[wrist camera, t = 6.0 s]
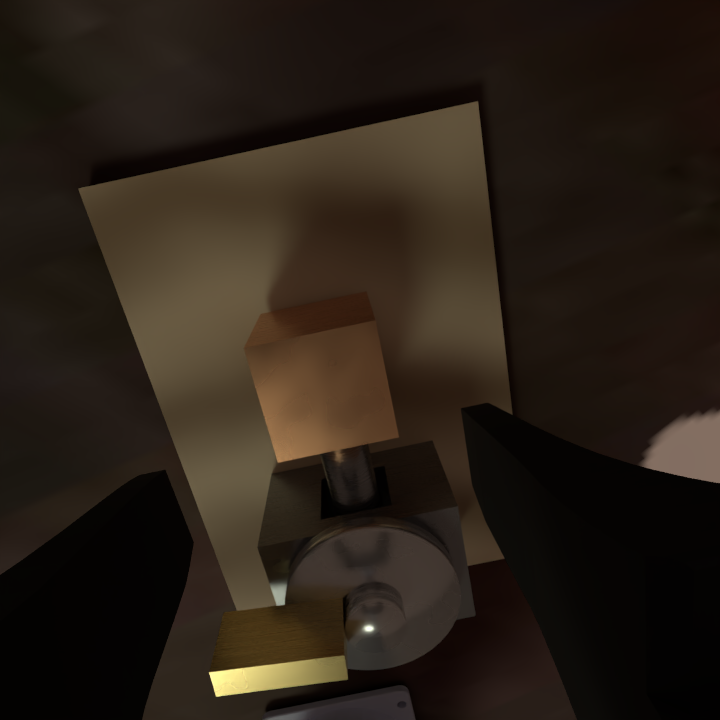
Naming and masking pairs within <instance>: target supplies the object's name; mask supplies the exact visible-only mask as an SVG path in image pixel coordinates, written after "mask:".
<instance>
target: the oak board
mask: <svg viewBox="0 0 720 720" xmlns="http://www.w3.org/2000/svg"><path fill="white" fill-rule="evenodd" d="M79 192H80V195H81V197H82V200H83V203H84V205H85V208H86V211H87V213H88V216H89V219H90V221H91V224H92V227H93V229H94V232H95V235H96V237H97V240H98V243H99V245H100V248H101V251H102V253H103V256H104V259H105V261H106V264H107V267H108V269H109V272H110V274H111V277H112V280H113V282H114V285H115V288H116V290H117V293H118V296H119V298H120V301H121V304H122V306H123V309H124V312H125V314H126V317H127V320H128V322H129V325H130V328H131V330H132V333H133V336H134V338H135V341H136V344H137V346H138V349H139V352H140V354H141V357H142V360H143V362H144V365H145V367H146V370H147V373H148V375H149V378H150V381H151V383H152V386H153V389H154V391H155V394H156V397H157V399H158V402H159V405H160V407H161V410H162V413H163V415H164V418H165V421H166V423H167V426H168V429H169V431H170V434H171V437H172V439H173V442H174V445H175V447H176V450H177V453H178V455H179V458H180V461H181V463H182V466H183V468H184V471H185V474H186V476H187V479H188V482H189V484H190V487H191V490H192V492H193V495H194V498H195V500H196V503H197V506H198V508H199V511H200V514H201V516H202V519H203V522H204V524H205V527H206V530H207V532H208V535H209V538H210V540H211V543H212V546H213V548H214V551H215V554H216V556H217V559H218V561H219V564H220V567H221V569H222V572H223V575H224V577H225V580H226V583H227V585H228V588H229V591H230V593H231V596H232V599H233V601H234V604H235V607H236V609H237V611H240V610H248V609H255V608H263V607H269V606H274V605H277V604H276V601H275V598H274V595H273V593H272V590H271V587H270V584H269V581H268V578H267V575H266V572H265V569H264V566H263V563H262V560H261V557H260V554H259V551H258V548H257V546H258V541H259V536H260V531H261V525H262V520H263V515H264V510H265V505H266V500H267V495H268V489H269V484H270V479H271V474H273V473H278V472H283V471H287V470H292V469H297V468H302V467H307V466H311V465H316V464H321V463H322V460H321V456H320V454H317V455H312V456H307V457H303V458H298V459H293V460H288V461H283V462H279V463H278V461H277V458H276V454H275V451H274V448H273V444H272V441H271V438H270V434H269V431H268V428H267V424H266V421H265V418H264V414H263V411H262V408H261V404H260V401H259V398H258V394H257V391H256V388H255V384H254V381H253V378H252V374H251V371H250V368H249V364H248V361H247V358H246V354H245V351H244V346H245V344H246V342H247V340H248V338H249V336H250V334H251V332H252V330H253V328H254V326H255V324H256V322H257V320H258V318H259V316H260V314H262V313H267V312H272V311H276V310H281V309H286V308H290V307H295V306H300V305H305V304H309V303H314V302H319V301H323V300H328V299H333V298H337V297H342V296H347V295H351V294H356V293H361V292H365V291H367V295H368V298H369V301H370V304H371V307H372V310H373V314H374V317H375V320H376V325H377V330H378V335H379V340H380V345H381V350H382V355H383V360H384V365H385V370H386V375H387V380H388V385H389V390H390V395H391V400H392V405H393V410H394V415H395V420H396V425H397V430H398V435H399V438H394V439H389V440H384V441H380V442H375V443H370V444H368V446H369V450H370V453H374V452H379V451H384V450H388V449H393V448H398V447H403V446H408V445H413V444H417V443H422V442H427V441H433V443H434V446H435V448H436V451H437V453H438V456H439V459H440V461H441V464H442V466H443V469H444V472H445V474H446V477H447V479H448V482H449V484H450V487H451V490H452V492H453V495H454V497H455V500H456V503H457V505H458V510H459V516H460V522H461V528H462V534H463V540H464V546H465V553H466V559H467V565H468V566H470V565H475V564H480V563H485V562H490V561H495V560H500V559H505V558H504V556H503V554H502V552H501V550H500V549H499V547H498V545H497V543H496V541H495V539H494V537H493V535H492V533H491V531H490V529H489V527H488V525H487V524H486V521H485V519H484V516H483V513H482V511H481V508H480V506H479V503H478V500H477V497H476V495H475V492H474V489H473V486H472V481H471V475H470V468H469V461H468V455H467V448H466V441H465V434H464V428H463V421H462V414H461V408H464V407H469V406H473V405H478V404H483V403H490V404H492V405H494V406H496V407H498V408H500V409H502V410H504V411H506V412H508V413H510V414H512V405H511V396H510V387H509V378H508V369H507V360H506V351H505V342H504V333H503V324H502V314H501V305H500V296H499V287H498V278H497V269H496V260H495V251H494V242H493V233H492V224H491V215H490V206H489V196H488V187H487V178H486V169H485V160H484V151H483V142H482V133H481V124H480V115H479V106H478V101H477V102H472V103H468V104H463V105H458V106H454V107H449V108H445V109H440V110H436V111H431V112H426V113H422V114H417V115H413V116H408V117H404V118H399V119H394V120H390V121H385V122H381V123H376V124H372V125H367V126H362V127H358V128H353V129H349V130H344V131H340V132H335V133H330V134H326V135H321V136H317V137H312V138H308V139H303V140H298V141H294V142H289V143H285V144H280V145H276V146H271V147H266V148H262V149H257V150H253V151H248V152H243V153H239V154H234V155H230V156H225V157H221V158H216V159H211V160H207V161H202V162H198V163H193V164H189V165H184V166H179V167H175V168H170V169H166V170H161V171H157V172H152V173H147V174H143V175H138V176H134V177H129V178H125V179H120V180H115V181H111V182H106V183H102V184H97V185H93V186H88V187H83V188H79ZM512 415H513V414H512Z"/></svg>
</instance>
